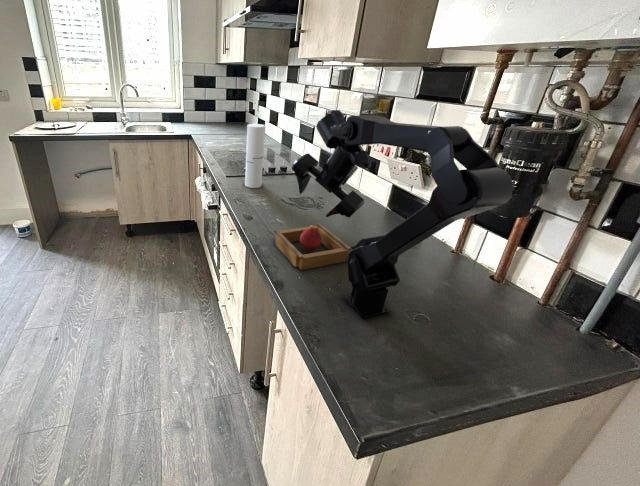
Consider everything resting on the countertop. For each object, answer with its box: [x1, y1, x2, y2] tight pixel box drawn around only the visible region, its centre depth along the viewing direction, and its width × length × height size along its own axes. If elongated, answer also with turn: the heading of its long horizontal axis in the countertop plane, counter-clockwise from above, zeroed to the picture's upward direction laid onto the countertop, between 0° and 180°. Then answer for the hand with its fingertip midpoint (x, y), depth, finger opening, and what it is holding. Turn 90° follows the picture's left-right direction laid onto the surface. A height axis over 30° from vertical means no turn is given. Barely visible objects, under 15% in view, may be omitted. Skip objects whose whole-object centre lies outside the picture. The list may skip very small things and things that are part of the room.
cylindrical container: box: [244, 123, 266, 189], centre depth 133 cm, size 7×7×25 cm
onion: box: [299, 224, 322, 252], centre depth 88 cm, size 6×6×8 cm
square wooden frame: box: [273, 222, 352, 271], centre depth 89 cm, size 15×15×4 cm
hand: (313, 204), depth 85 cm, fingers open, 9 cm apart
